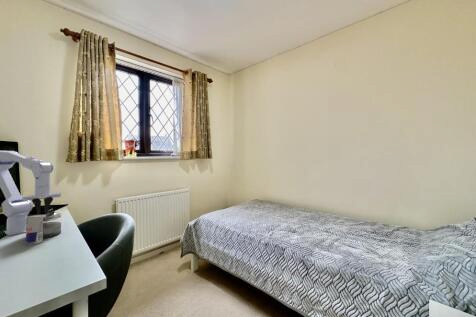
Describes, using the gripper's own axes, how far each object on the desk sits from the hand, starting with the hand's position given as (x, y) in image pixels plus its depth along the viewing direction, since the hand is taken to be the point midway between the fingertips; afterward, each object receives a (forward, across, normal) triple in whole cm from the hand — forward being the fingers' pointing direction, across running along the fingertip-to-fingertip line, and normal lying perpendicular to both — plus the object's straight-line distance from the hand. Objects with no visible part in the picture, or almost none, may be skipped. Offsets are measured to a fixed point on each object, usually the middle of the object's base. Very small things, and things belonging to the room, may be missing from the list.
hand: (42, 213), depth 110 cm
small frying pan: (+2, 0, -5) cm, 5 cm away
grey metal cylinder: (+10, 0, -3) cm, 11 cm away
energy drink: (+11, -6, -13) cm, 18 cm away
